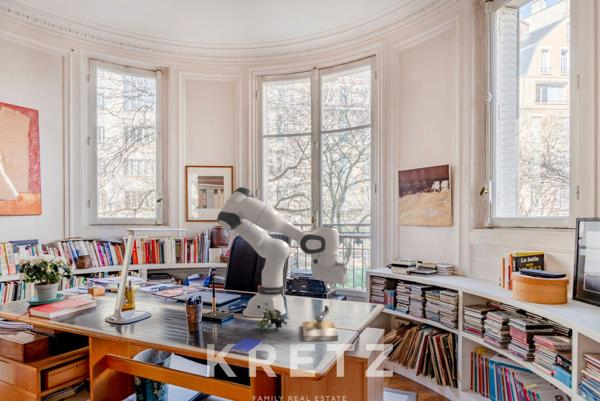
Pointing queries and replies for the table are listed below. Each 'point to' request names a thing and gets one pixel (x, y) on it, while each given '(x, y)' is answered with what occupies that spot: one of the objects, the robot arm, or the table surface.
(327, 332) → the door board
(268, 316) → the green leafy plant
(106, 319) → the table surface
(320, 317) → the lock bar
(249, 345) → the hard drive
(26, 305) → the table surface
